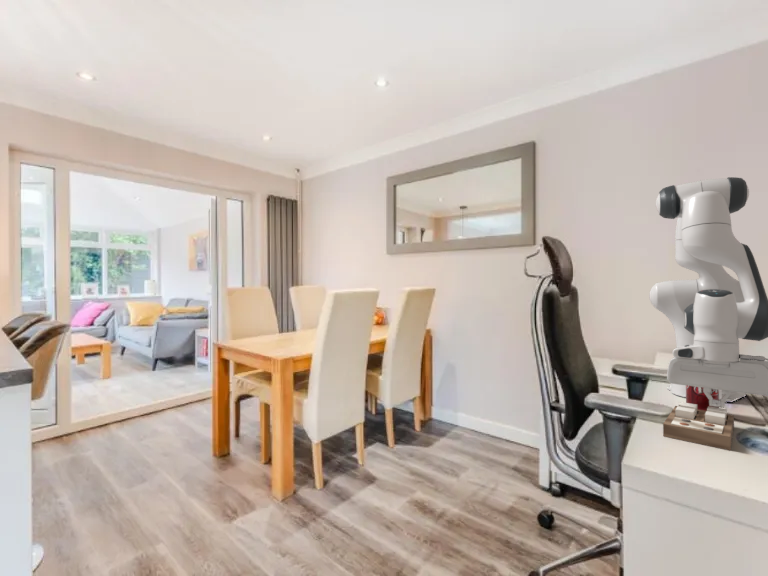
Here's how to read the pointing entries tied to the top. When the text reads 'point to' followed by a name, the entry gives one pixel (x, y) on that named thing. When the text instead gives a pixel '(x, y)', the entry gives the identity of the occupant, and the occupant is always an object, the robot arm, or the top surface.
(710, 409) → the button
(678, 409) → the button
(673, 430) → the button board
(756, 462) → the top surface
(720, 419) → the button
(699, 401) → the soda can
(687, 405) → the button
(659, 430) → the top surface
